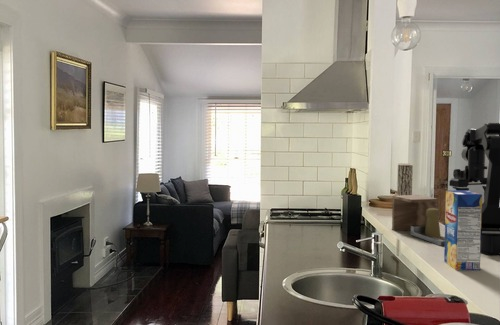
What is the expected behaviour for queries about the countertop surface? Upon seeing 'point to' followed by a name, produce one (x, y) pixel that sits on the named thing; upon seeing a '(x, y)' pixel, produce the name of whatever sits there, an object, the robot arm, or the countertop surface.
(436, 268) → the countertop surface
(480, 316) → the countertop surface
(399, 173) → the bark textured block
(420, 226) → the grey brown long block
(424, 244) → the countertop surface
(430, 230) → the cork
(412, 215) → the spice cubby
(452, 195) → the beverage box
